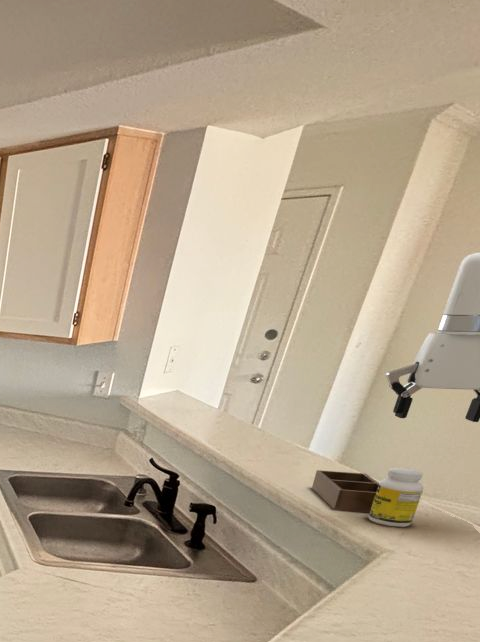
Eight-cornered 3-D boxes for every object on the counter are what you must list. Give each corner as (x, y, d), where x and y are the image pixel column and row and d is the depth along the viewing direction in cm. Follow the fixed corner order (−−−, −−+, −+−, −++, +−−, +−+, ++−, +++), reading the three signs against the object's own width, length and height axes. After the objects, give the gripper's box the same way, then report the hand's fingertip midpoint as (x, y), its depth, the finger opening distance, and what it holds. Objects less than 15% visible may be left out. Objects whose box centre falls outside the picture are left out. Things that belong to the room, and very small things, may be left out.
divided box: (359, 492, 138) (365, 473, 137) (388, 514, 124) (395, 494, 123) (311, 488, 142) (316, 470, 141) (334, 509, 129) (340, 489, 127)
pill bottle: (360, 516, 125) (376, 466, 121) (398, 518, 122) (415, 467, 119) (378, 526, 119) (395, 474, 115) (418, 528, 117) (436, 475, 113)
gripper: (528, 324, 105) (490, 418, 111) (395, 324, 113) (366, 412, 119) (554, 326, 99) (512, 426, 104) (411, 326, 107) (380, 419, 113)
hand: (435, 418), depth 112 cm, fingers open, 9 cm apart
